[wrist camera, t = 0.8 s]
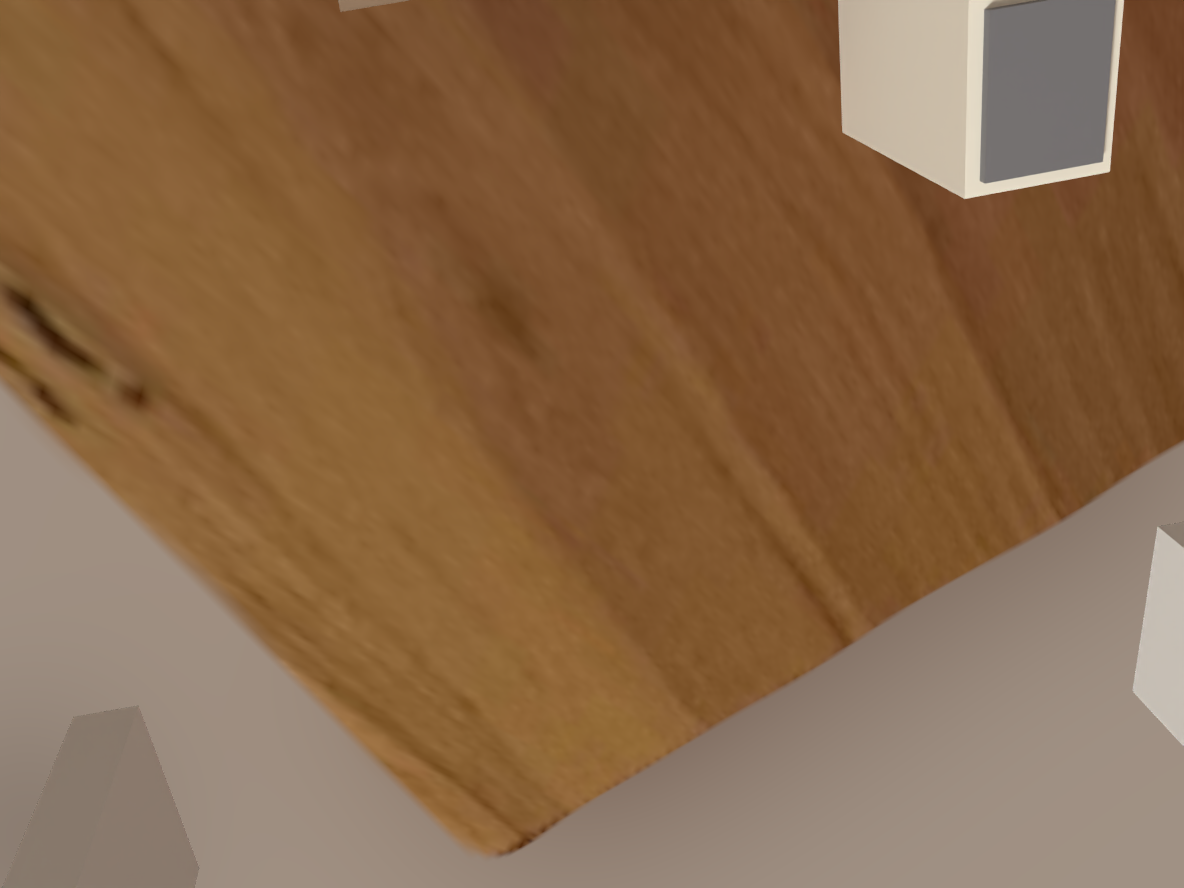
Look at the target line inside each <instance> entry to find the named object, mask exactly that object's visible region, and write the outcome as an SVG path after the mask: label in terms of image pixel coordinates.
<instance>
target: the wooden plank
mask: <svg viewBox="0 0 1184 888" xmlns="http://www.w3.org/2000/svg"><path fill="white" fill-rule="evenodd" d="M402 1H408V0H338V2H339V6H340V11H341V12H342V11H348V10H354V9H360V8H366V7H372V6H378V5H384V4H390V3H396V2H402Z"/></svg>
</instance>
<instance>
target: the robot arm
mask: <svg viewBox="0 0 1184 888" xmlns="http://www.w3.org/2000/svg"><path fill="white" fill-rule="evenodd" d="M1133 692H1134V693H1135V694H1136V695H1137V697H1138V698H1139V699H1140V700H1141V701H1142V702H1143V703H1144V704H1145V705H1146V706H1147V707H1148V708H1149V709H1150V711H1151V712H1152V713H1153V714H1154V715H1155V716H1156V717H1157V718H1158V719H1159V720H1160V721H1161V722H1162V724H1163V725H1164V726H1165V727H1166V728H1167V729H1168V730H1169V731H1170V732H1171V733H1172V734H1173V736H1174V737H1175V738H1176V739H1177V740H1178V741H1179V742H1180V743H1181V744H1182V745H1183V746H1184V522H1180V523H1174V524H1168V525H1163V526H1158V527H1157V534H1156V540H1155V547H1154V554H1153V560H1152V567H1151V573H1150V580H1149V586H1148V593H1147V600H1146V606H1145V613H1144V619H1143V626H1142V632H1141V639H1140V646H1139V652H1138V659H1137V666H1136V672H1135V678H1134V685H1133ZM198 870H199V866H198V863H197V861H196V858H195V856H194V853H193V850H192V848H191V845H190V842H189V839H188V837H187V834H186V831H185V829H184V826H183V823H182V821H181V818H180V815H179V813H178V810H177V807H176V805H175V802H174V799H173V797H172V794H171V791H170V789H169V786H168V783H167V781H166V778H165V775H164V773H163V770H162V767H161V765H160V762H159V759H158V757H157V754H156V751H155V748H154V746H153V743H152V741H151V738H150V735H149V733H148V730H147V727H146V725H145V722H144V719H143V717H142V714H141V711H140V709H139V706H133V707H128V708H121V709H116V710H111V711H104V712H99V713H93V714H87V715H82V716H76V717H73V719H72V722H71V724H70V727H69V729H68V731H67V734H66V736H65V739H64V741H63V744H62V746H61V748H60V750H59V753H58V755H57V758H56V760H55V762H54V765H53V767H52V770H51V772H50V774H49V777H48V779H47V782H46V784H45V786H44V789H43V791H42V793H41V796H40V798H39V801H38V803H37V806H36V808H35V810H34V812H33V815H32V817H31V820H30V822H29V824H28V827H27V829H26V832H25V834H24V836H23V839H22V841H21V843H20V846H19V848H18V851H17V853H16V855H15V858H14V860H13V863H12V865H11V867H10V870H9V872H8V874H7V877H6V879H5V882H4V884H3V886H2V888H195V884H196V879H197V875H198Z"/></svg>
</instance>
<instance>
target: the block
mask: <svg viewBox="0 0 1184 888" xmlns="http://www.w3.org/2000/svg"><path fill="white" fill-rule="evenodd" d="M1123 4H1124V0H838V11H839V42H840V73H841V104H842V132H843V133H845V134H846V135H848V136H850V137H852V138H854V139H856V140H857V141H859V142H861V143H863V144H865V145H867V146H868V147H870V148H872V149H874V150H876V151H878V152H879V153H881V154H883V155H885V156H887V157H889V158H891V159H892V160H894V161H896V162H898V163H900V164H902V165H903V166H905V167H907V168H909V169H911V170H913V171H914V172H916V173H918V174H920V175H922V176H924V177H925V178H927V179H929V180H931V181H933V182H935V183H937V184H938V185H940V186H942V187H944V188H946V189H948V190H949V191H951V192H953V193H955V194H957V195H959V196H960V197H962V198H964V199H966V198H972V197H977V196H982V195H988V194H993V193H999V192H1004V191H1009V190H1015V189H1020V188H1026V187H1031V186H1036V185H1042V184H1047V183H1053V182H1058V181H1063V180H1069V179H1074V178H1079V177H1085V176H1090V175H1096V174H1101V173H1106V172H1110V162H1111V150H1112V138H1113V126H1114V114H1115V101H1116V89H1117V77H1118V65H1119V53H1120V41H1121V29H1122V16H1123Z"/></svg>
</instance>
